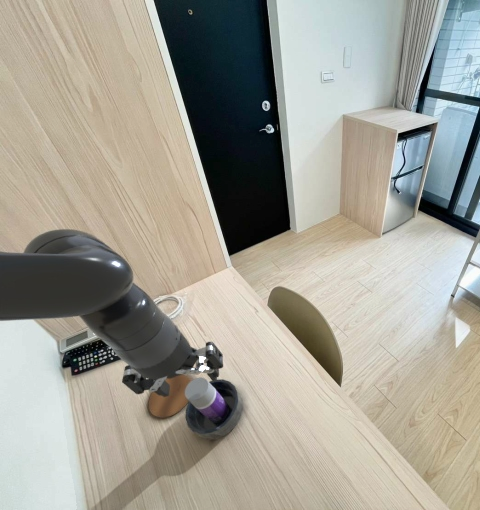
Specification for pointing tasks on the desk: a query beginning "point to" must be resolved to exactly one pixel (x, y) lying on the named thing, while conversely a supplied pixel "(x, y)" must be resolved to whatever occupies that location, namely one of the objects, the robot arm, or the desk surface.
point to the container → (207, 399)
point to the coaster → (170, 398)
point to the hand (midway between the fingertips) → (191, 383)
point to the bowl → (220, 429)
